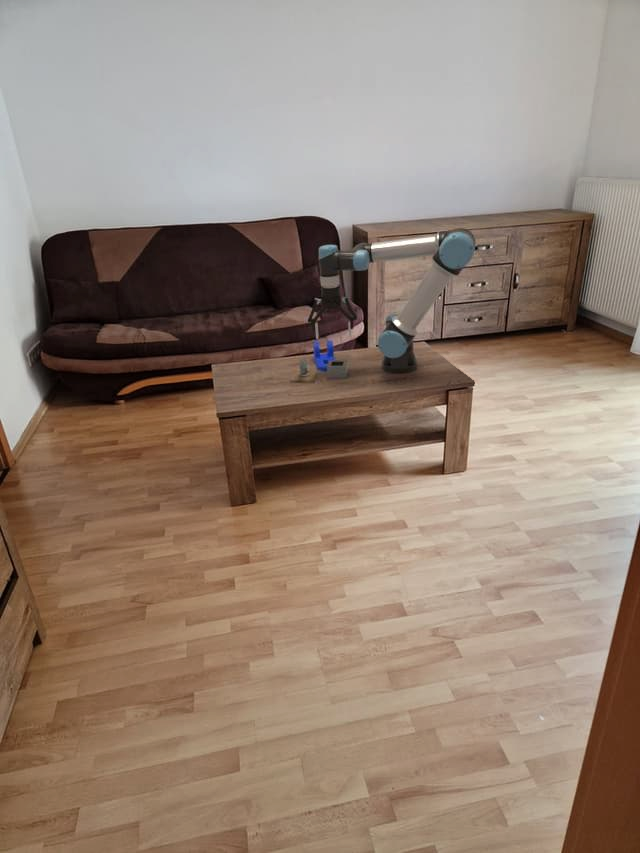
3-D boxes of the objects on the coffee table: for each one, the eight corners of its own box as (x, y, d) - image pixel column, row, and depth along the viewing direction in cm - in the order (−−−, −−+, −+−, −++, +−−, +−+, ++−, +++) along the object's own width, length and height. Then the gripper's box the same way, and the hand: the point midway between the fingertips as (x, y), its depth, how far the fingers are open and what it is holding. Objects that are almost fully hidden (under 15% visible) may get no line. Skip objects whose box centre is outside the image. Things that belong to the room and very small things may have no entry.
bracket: (314, 358, 262) (313, 340, 258) (332, 357, 263) (331, 338, 259) (318, 372, 246) (317, 352, 242) (337, 370, 247) (336, 351, 243)
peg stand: (317, 373, 245) (316, 355, 241) (314, 382, 236) (312, 364, 232) (294, 373, 246) (293, 355, 242) (290, 382, 237) (289, 364, 234)
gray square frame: (348, 371, 245) (347, 360, 243) (346, 378, 238) (345, 367, 236) (329, 371, 247) (329, 360, 244) (327, 378, 239) (326, 367, 237)
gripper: (361, 282, 227) (364, 333, 237) (300, 285, 230) (305, 335, 239) (361, 286, 220) (363, 338, 230) (298, 289, 223) (302, 341, 233)
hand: (333, 337), depth 235 cm, fingers open, 13 cm apart
